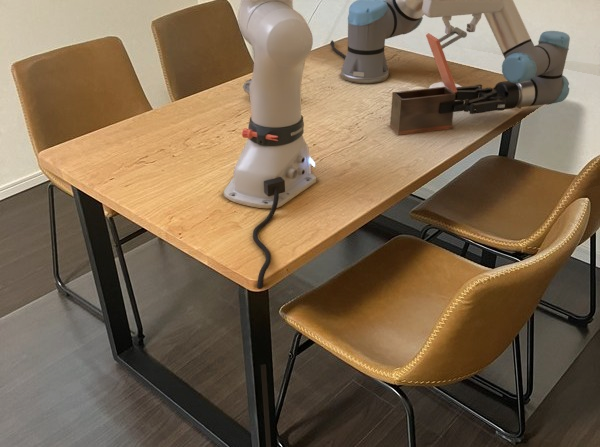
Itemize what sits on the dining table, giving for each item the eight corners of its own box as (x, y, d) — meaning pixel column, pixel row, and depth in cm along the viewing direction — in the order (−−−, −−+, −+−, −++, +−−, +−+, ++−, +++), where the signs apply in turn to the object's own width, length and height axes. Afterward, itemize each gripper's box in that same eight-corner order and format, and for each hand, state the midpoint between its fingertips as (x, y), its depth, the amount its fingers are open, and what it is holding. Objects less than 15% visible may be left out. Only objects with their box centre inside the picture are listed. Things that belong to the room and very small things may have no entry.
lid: (435, 41, 151) (464, 24, 150) (425, 34, 156) (453, 18, 155) (454, 93, 160) (482, 77, 159) (444, 85, 164) (471, 69, 164)
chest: (398, 135, 162) (401, 100, 157) (389, 126, 167) (392, 92, 162) (451, 128, 165) (455, 94, 160) (441, 120, 170) (445, 86, 165)
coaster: (424, 93, 186) (425, 82, 184) (456, 91, 187) (457, 80, 185) (433, 106, 178) (434, 94, 176) (467, 104, 179) (468, 92, 177)
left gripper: (499, -32, 152) (490, 25, 159) (422, -26, 147) (417, 32, 155) (513, -27, 147) (503, 32, 154) (434, -21, 142) (428, 39, 150)
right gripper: (529, 120, 162) (449, 131, 157) (492, 95, 178) (418, 104, 173) (535, 93, 158) (452, 103, 153) (496, 70, 174) (420, 78, 169)
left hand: (459, 32), depth 154 cm, fingers open, 4 cm apart
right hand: (434, 103), depth 163 cm, fingers closed on chest, 6 cm apart
